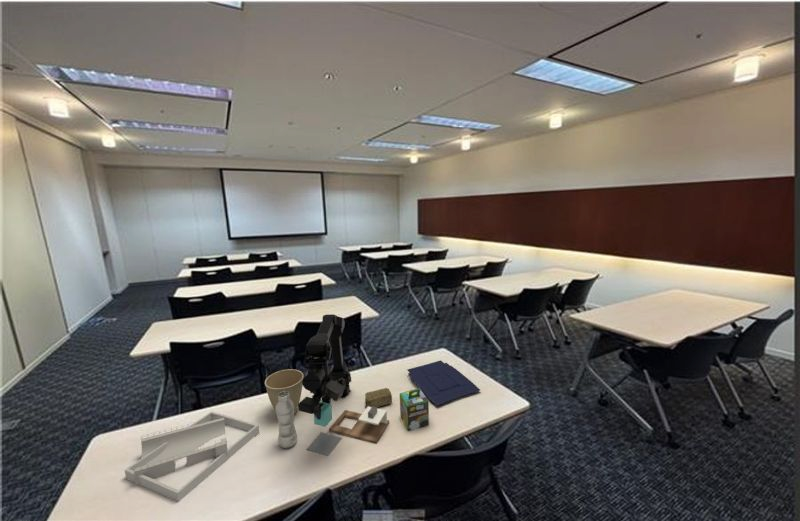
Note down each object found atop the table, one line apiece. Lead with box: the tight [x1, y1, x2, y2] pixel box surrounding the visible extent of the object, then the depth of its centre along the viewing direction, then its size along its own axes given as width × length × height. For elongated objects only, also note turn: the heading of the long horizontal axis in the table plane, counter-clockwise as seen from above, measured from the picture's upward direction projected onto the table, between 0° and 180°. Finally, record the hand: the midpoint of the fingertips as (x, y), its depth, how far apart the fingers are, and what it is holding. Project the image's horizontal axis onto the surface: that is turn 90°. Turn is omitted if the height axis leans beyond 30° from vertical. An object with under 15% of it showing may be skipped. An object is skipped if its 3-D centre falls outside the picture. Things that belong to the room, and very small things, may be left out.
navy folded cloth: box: [406, 359, 481, 406], centre depth 151 cm, size 24×30×4 cm
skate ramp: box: [134, 416, 228, 486], centre depth 108 cm, size 25×19×10 cm
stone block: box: [364, 387, 393, 408], centre depth 136 cm, size 6×12×5 cm, turn 107°
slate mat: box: [306, 431, 342, 457], centre depth 114 cm, size 9×9×1 cm
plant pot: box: [264, 368, 304, 416], centre depth 131 cm, size 15×15×16 cm
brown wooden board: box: [328, 409, 390, 445], centre depth 122 cm, size 20×12×2 cm, turn 69°
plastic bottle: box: [274, 391, 298, 449], centre depth 113 cm, size 6×7×20 cm
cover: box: [358, 406, 388, 425], centre depth 119 cm, size 8×8×7 cm
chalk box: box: [399, 387, 430, 432], centre depth 124 cm, size 9×9×15 cm
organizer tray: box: [124, 410, 260, 502], centre depth 110 cm, size 25×31×4 cm
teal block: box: [313, 401, 333, 428], centre depth 112 cm, size 4×4×6 cm
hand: (322, 414), depth 112 cm, fingers closed on teal block, 4 cm apart
